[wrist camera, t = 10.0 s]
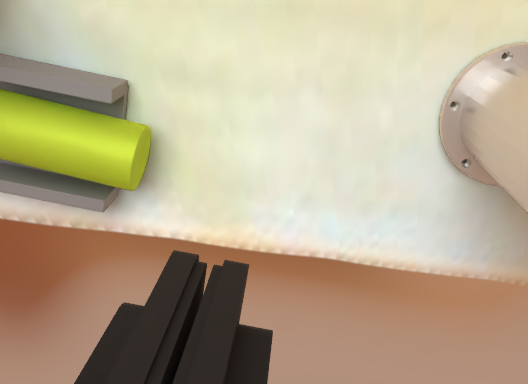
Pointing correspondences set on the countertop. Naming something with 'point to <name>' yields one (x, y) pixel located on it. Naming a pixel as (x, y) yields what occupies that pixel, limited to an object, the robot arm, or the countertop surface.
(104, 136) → the soap dispenser
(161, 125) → the countertop surface
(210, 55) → the countertop surface
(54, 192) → the cradle
